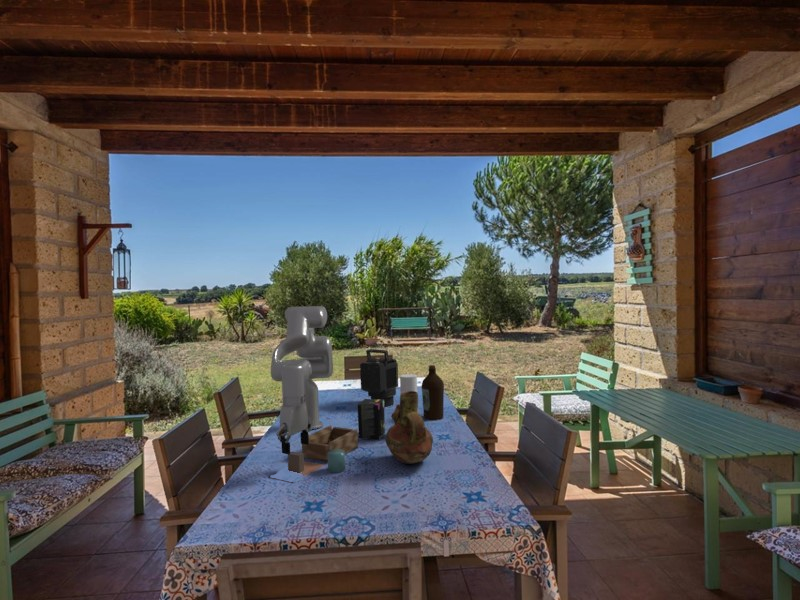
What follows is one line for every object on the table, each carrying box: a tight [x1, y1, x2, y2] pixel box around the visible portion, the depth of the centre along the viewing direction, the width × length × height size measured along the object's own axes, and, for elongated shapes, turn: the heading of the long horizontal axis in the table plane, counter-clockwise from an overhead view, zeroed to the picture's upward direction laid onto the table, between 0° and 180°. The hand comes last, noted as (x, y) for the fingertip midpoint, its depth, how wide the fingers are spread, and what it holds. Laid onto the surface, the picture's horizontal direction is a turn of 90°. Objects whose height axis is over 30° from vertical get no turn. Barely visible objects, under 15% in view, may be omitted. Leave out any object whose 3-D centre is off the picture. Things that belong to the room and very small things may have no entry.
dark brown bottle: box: [421, 364, 445, 421], centre depth 222 cm, size 11×11×25 cm
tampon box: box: [357, 398, 386, 441], centre depth 197 cm, size 11×9×15 cm
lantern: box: [359, 348, 399, 408], centre depth 249 cm, size 15×18×30 cm
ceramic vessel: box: [385, 391, 434, 464], centre depth 167 cm, size 17×26×25 cm, turn 23°
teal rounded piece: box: [327, 449, 346, 474], centre depth 161 cm, size 6×6×6 cm
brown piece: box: [287, 451, 324, 477], centre depth 160 cm, size 16×11×7 cm
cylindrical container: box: [399, 373, 418, 394], centre depth 197 cm, size 7×7×25 cm
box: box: [301, 424, 359, 464], centre depth 178 cm, size 18×13×7 cm
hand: (295, 448), depth 160 cm, fingers open, 9 cm apart
